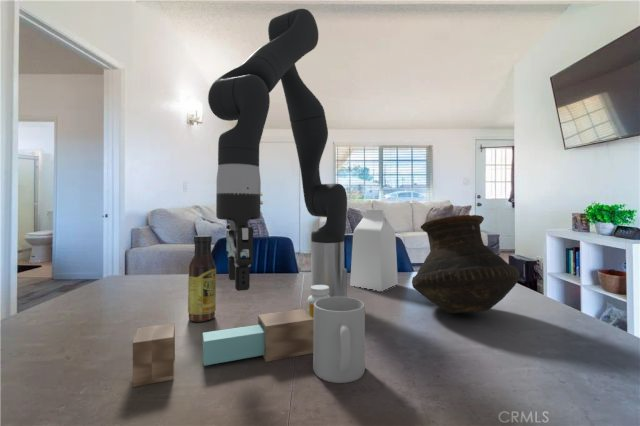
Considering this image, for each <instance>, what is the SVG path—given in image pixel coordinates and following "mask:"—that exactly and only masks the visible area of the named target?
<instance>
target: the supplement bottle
mask: <svg viewBox="0 0 640 426" xmlns="http://www.w3.org/2000/svg"><path fill="white" fill-rule="evenodd" d="M311 294H312V295H311ZM328 294H329V286H326V285H314V286H311V285H310V295H309V296H308V298H307V301H306V302H307V303H306V304H307V305H306V309H307V311H306V313H308V314H309V315H310V316H311V317H312V318H313V319H314V303H315V302H316V301H317V300H319V299H322V298H326V297H330V296H329V295H328Z"/></svg>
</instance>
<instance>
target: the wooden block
mask: <svg viewBox="0 0 640 426" xmlns="http://www.w3.org/2000/svg"><path fill="white" fill-rule="evenodd" d="M260 324H262V325H263V326H264V328H265V355H262V357H263V359H264V362H265V363H267V362H272V361H278V360H284V359H288V358H294V357H298V356H304V355H308V354H309V355H310V354H313V352H314V319H313V318H312V317H311V316H310V315H309V314H308V313H307V311H305V310H304V309H303V308H299V309H292V310H285V311H277V312H268V313H262V314H258V315H257V325H260Z"/></svg>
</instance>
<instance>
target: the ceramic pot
mask: <svg viewBox="0 0 640 426" xmlns="http://www.w3.org/2000/svg"><path fill="white" fill-rule="evenodd" d="M484 219H485V217H484V216H482V215H479V214H478V215H477V214H473V215H472V214H471V215H470V214H462V215H461V214H459V215H450V216H445V217H443V216H442V217H438V218H434V219H431V220H429V221H426V222H424V223H423V224H421V226H420V229H421V230H422V231H424V232H425V233H426V235H427V239H428V245H429V251H430V252H429V253H428V255H427V256H426V258H425V259H424V262H423V264H421V265H420V266H419V269H418V270H417V273H416V274H415V275H414V276H413V277H412V280H411V283H412V284H411V285H412V288H413V289H415V291H416V292H417V293H419V294H420V295H421V296H423V297H424V298H425V299H427V300H428V301H429V302H431V303H432V304H433V305H436V306H437V307H439V308H440V309H442V310H443V311H445V312H446V313H448V314H460V313H475V312H477V313H478V312H485V311H490V310H491V309H492V308H493V307H495V306H496V305H497V304H498V303H499V302H501V301H502V300H503V299H504V298H505V297H506V296H507V294H509V293H510V291H511V290H512V289H513V288H514V287H515V286H516V285H517V283H518V282H519V280H520V279H521V277H520V271H519V270H518V268H516V267H515V266H514V265H511V264H509V263H508V262H506V260H505V259H504V258H502V256H500V255H499V254H497V253H495V252H494V251H493V250H492V249H491V248H489V247H488V246H487V245H485V243H484V241H483V237H482V233H481V232H482V231H481V224H482V222H483V221H484Z"/></svg>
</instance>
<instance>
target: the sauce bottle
mask: <svg viewBox="0 0 640 426" xmlns="http://www.w3.org/2000/svg"><path fill="white" fill-rule="evenodd" d="M212 241H213V237H212V235H194V236H193V242H194V256H193V257H192V259H191V261H190V263H189V265H188V266H189V267H188V282H187V283H188V287H187V289H188V294H187V297H188V298H187V300H188V301H187V306H188V307H187V313H188V320H189V321H191V322H193V323H195V322H196V323H200V322H206V321H210V320H212V319H214V317H215V314H216V310H217V302H216V301H217V266H216V264H215V261H214V259H213V254H212Z"/></svg>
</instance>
